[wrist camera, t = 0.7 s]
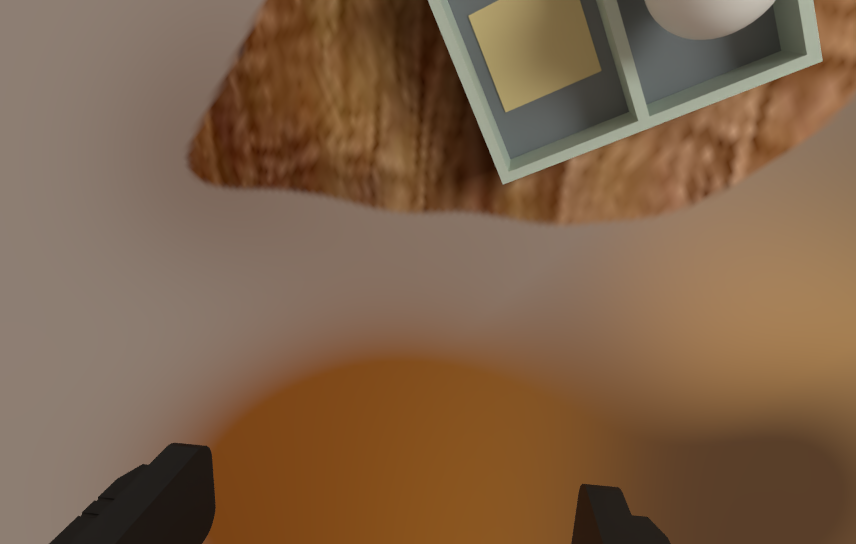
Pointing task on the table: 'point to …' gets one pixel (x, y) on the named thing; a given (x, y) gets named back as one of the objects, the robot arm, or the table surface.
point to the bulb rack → (610, 66)
